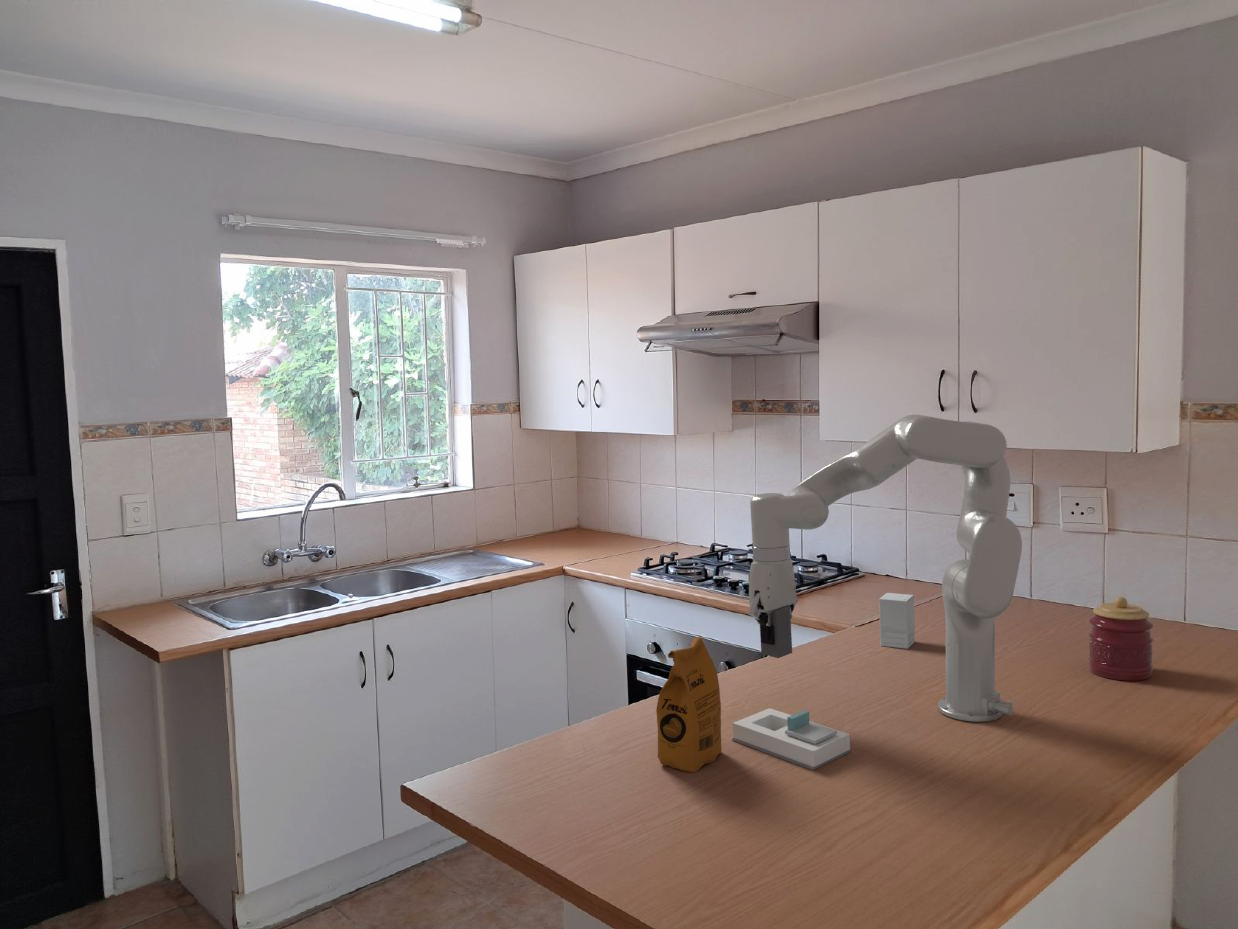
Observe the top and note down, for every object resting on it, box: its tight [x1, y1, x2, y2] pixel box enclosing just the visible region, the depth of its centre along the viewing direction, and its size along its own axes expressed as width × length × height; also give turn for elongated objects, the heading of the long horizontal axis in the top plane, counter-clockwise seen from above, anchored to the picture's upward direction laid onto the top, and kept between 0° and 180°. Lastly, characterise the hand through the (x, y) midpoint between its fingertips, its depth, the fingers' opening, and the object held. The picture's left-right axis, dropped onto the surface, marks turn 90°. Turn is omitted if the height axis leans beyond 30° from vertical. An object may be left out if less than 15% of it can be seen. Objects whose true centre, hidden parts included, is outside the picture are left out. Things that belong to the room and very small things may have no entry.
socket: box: [731, 707, 852, 771], centre depth 176 cm, size 20×12×4 cm, turn 41°
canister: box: [1087, 596, 1155, 682], centre depth 209 cm, size 13×13×18 cm
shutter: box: [785, 709, 837, 744], centre depth 172 cm, size 7×7×3 cm
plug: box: [759, 605, 793, 659], centre depth 190 cm, size 4×4×12 cm
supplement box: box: [878, 592, 916, 650], centre depth 238 cm, size 7×7×13 cm
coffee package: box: [655, 636, 722, 773], centre depth 171 cm, size 10×12×22 cm
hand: (776, 639), depth 190 cm, fingers closed on plug, 4 cm apart
